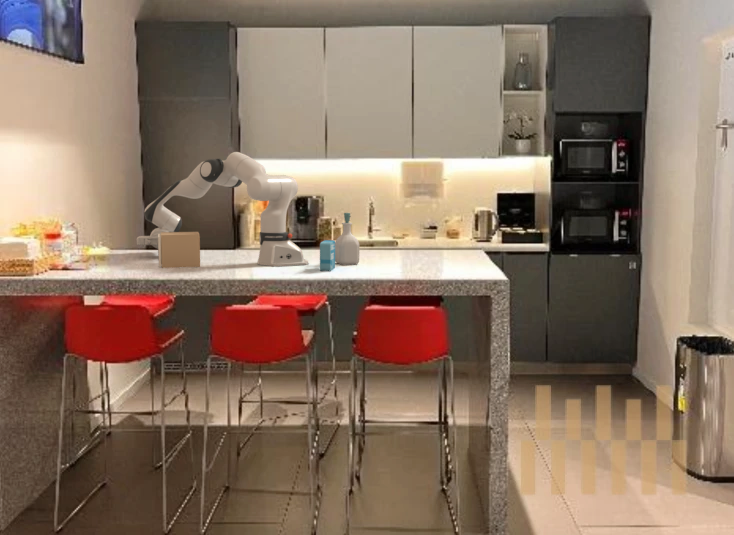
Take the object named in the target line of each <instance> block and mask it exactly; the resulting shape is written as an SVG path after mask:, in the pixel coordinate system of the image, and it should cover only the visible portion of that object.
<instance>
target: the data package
mask: <svg viewBox="0 0 734 535" xmlns="http://www.w3.org/2000/svg"><path fill="white" fill-rule="evenodd" d="M335 242H336V240H330V239H329V240H327V239H323V241H321V242H320V243H319V270H320V272H331V271H334V269H335V268H336V262H335Z"/></svg>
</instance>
